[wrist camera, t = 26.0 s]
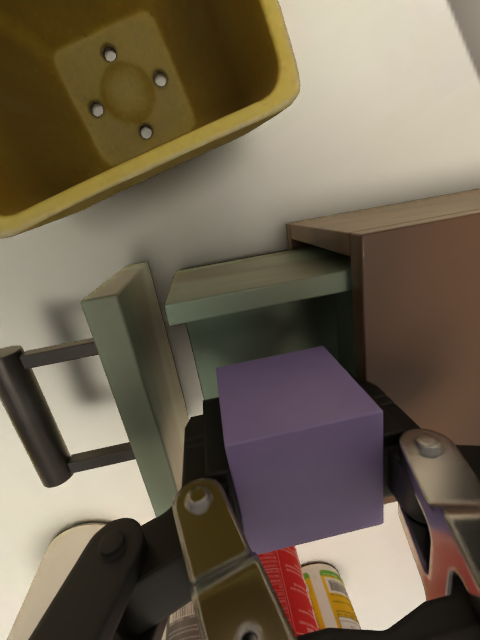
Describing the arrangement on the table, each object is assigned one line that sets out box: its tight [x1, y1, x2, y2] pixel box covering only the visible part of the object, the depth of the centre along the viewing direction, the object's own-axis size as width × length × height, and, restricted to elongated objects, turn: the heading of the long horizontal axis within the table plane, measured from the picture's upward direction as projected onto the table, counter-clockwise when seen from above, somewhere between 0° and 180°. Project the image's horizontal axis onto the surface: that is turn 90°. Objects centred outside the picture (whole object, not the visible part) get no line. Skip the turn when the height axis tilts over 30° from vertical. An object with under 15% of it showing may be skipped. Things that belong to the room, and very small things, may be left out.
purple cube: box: [216, 346, 383, 555], centre depth 10 cm, size 4×4×4 cm
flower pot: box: [0, 0, 300, 238], centre depth 10 cm, size 9×9×9 cm
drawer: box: [0, 246, 356, 517], centre depth 15 cm, size 17×10×7 cm, turn 99°
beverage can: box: [243, 531, 319, 636], centre depth 19 cm, size 5×5×12 cm
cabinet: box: [286, 189, 480, 504], centre depth 16 cm, size 13×12×9 cm
